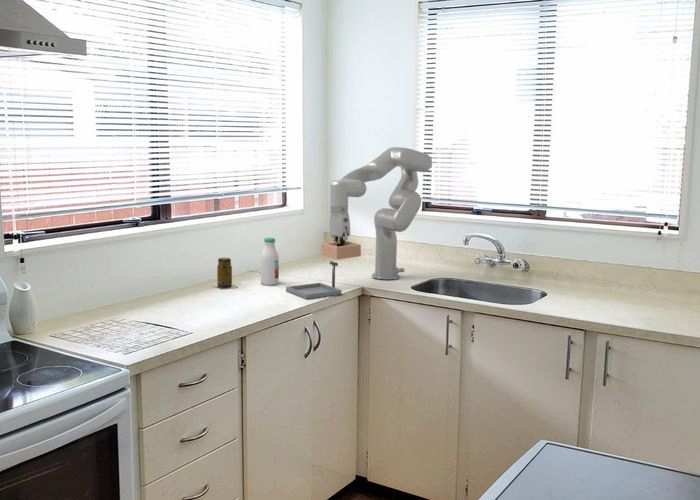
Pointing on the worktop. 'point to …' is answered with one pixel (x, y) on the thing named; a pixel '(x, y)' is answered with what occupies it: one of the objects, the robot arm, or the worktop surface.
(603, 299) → the worktop surface
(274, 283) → the milk bottle
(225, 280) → the condiment
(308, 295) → the tray
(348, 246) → the ring
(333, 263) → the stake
